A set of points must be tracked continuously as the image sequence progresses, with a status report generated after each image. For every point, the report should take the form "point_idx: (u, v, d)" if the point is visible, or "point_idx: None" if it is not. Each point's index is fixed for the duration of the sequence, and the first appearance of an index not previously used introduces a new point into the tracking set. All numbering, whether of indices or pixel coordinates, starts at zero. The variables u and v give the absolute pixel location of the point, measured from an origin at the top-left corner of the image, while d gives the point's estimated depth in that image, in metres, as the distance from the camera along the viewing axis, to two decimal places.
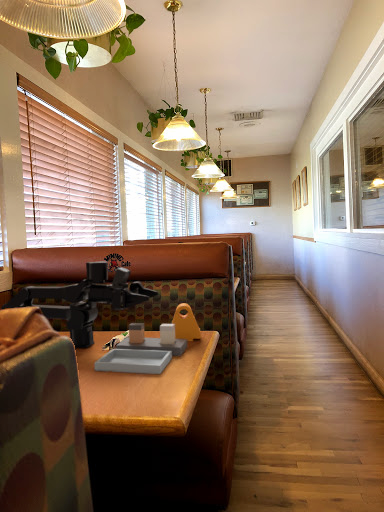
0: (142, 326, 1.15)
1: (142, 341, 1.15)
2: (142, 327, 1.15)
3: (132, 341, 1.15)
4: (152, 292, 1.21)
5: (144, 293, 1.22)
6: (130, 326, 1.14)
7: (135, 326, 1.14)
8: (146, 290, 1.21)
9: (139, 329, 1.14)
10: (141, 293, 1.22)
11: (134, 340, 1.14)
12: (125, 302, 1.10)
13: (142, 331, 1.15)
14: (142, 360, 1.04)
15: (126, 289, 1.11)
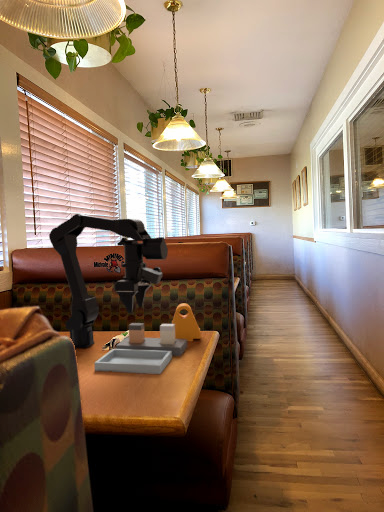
0: (142, 326, 1.15)
1: (142, 341, 1.15)
2: (142, 327, 1.15)
3: (132, 341, 1.15)
4: (141, 301, 1.19)
5: (139, 292, 1.20)
6: (130, 326, 1.14)
7: (135, 326, 1.14)
8: (142, 294, 1.19)
9: (139, 329, 1.14)
10: (139, 289, 1.20)
11: (134, 340, 1.14)
12: None
13: (142, 331, 1.15)
14: (142, 360, 1.04)
15: (136, 292, 1.08)
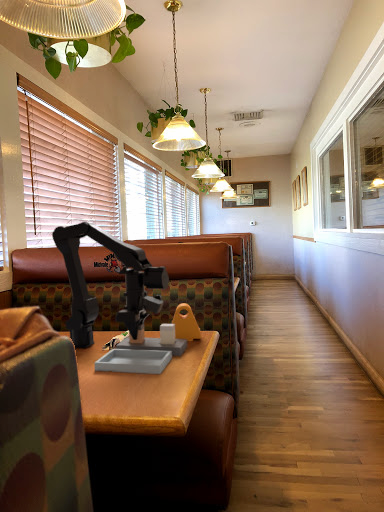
0: (142, 326, 1.15)
1: (142, 341, 1.15)
2: (142, 327, 1.15)
3: (132, 341, 1.15)
4: None
5: None
6: None
7: None
8: None
9: (139, 329, 1.14)
10: None
11: (135, 340, 1.14)
12: None
13: (142, 331, 1.15)
14: (142, 360, 1.04)
15: (140, 320, 1.12)
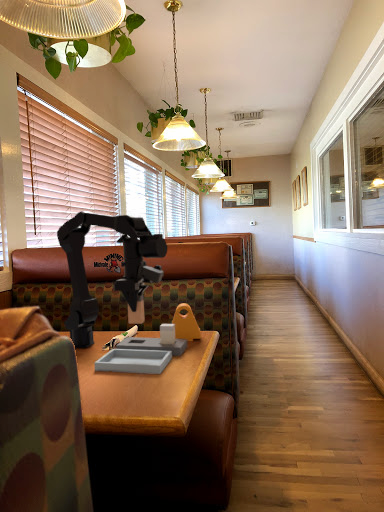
0: (141, 297, 1.09)
1: (142, 313, 1.09)
2: (141, 298, 1.09)
3: (131, 313, 1.09)
4: None
5: None
6: None
7: None
8: None
9: (138, 300, 1.08)
10: None
11: (134, 312, 1.09)
12: (126, 291, 1.06)
13: (141, 303, 1.09)
14: (142, 360, 1.04)
15: (140, 290, 1.06)
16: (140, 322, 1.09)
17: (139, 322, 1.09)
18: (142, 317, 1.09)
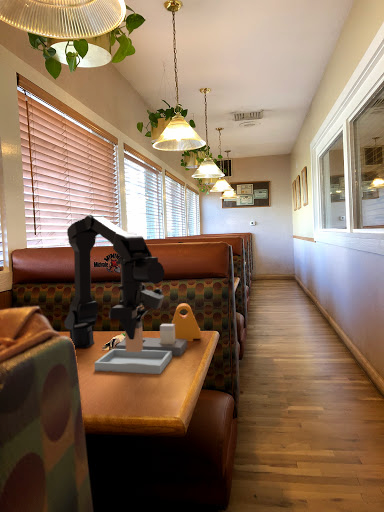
0: (140, 324, 1.01)
1: (140, 341, 1.01)
2: (140, 325, 1.01)
3: (129, 341, 1.01)
4: None
5: None
6: None
7: None
8: None
9: (136, 327, 1.00)
10: None
11: (131, 339, 1.01)
12: None
13: (140, 329, 1.01)
14: (142, 360, 1.04)
15: (138, 317, 0.98)
16: (138, 351, 1.01)
17: (137, 350, 1.01)
18: (140, 345, 1.01)
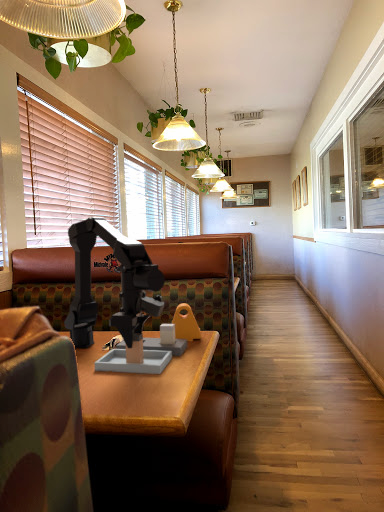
0: (140, 336, 1.01)
1: (140, 354, 1.01)
2: (140, 338, 1.01)
3: (129, 353, 1.01)
4: None
5: (137, 324, 1.05)
6: None
7: None
8: (140, 327, 1.05)
9: (137, 340, 1.00)
10: (136, 320, 1.05)
11: (132, 352, 1.01)
12: None
13: (140, 342, 1.01)
14: None
15: (136, 325, 0.96)
16: (138, 363, 1.01)
17: None
18: (141, 358, 1.02)
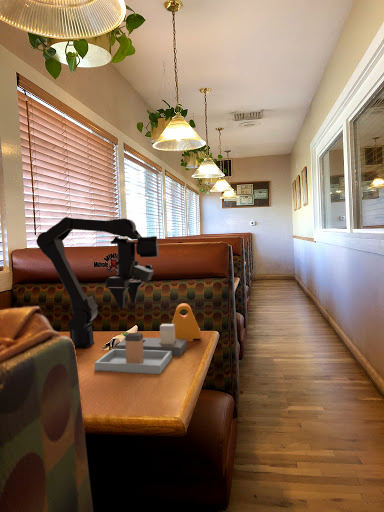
0: (140, 336, 1.01)
1: (140, 354, 1.01)
2: (140, 338, 1.01)
3: (129, 353, 1.01)
4: (133, 297, 1.25)
5: (132, 289, 1.25)
6: (127, 337, 1.01)
7: (132, 336, 1.01)
8: (135, 291, 1.25)
9: (137, 340, 1.00)
10: (132, 285, 1.25)
11: (132, 352, 1.01)
12: None
13: (140, 342, 1.01)
14: None
15: (126, 288, 1.13)
16: (138, 363, 1.01)
17: None
18: (141, 358, 1.02)
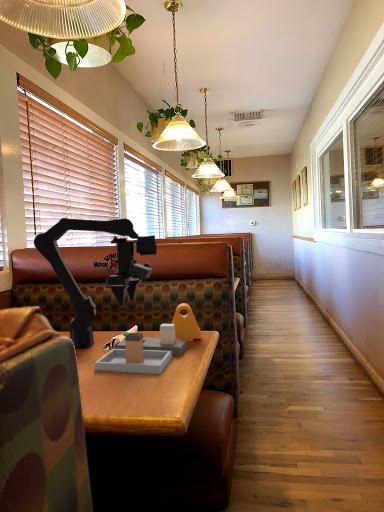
0: (140, 336, 1.01)
1: (140, 354, 1.01)
2: (140, 338, 1.01)
3: (129, 353, 1.01)
4: (132, 295, 1.28)
5: (131, 287, 1.29)
6: (127, 337, 1.01)
7: (132, 336, 1.01)
8: (134, 289, 1.28)
9: (137, 340, 1.00)
10: (131, 283, 1.29)
11: (132, 352, 1.01)
12: None
13: (140, 342, 1.01)
14: None
15: (127, 286, 1.17)
16: (138, 363, 1.01)
17: None
18: (141, 358, 1.02)
